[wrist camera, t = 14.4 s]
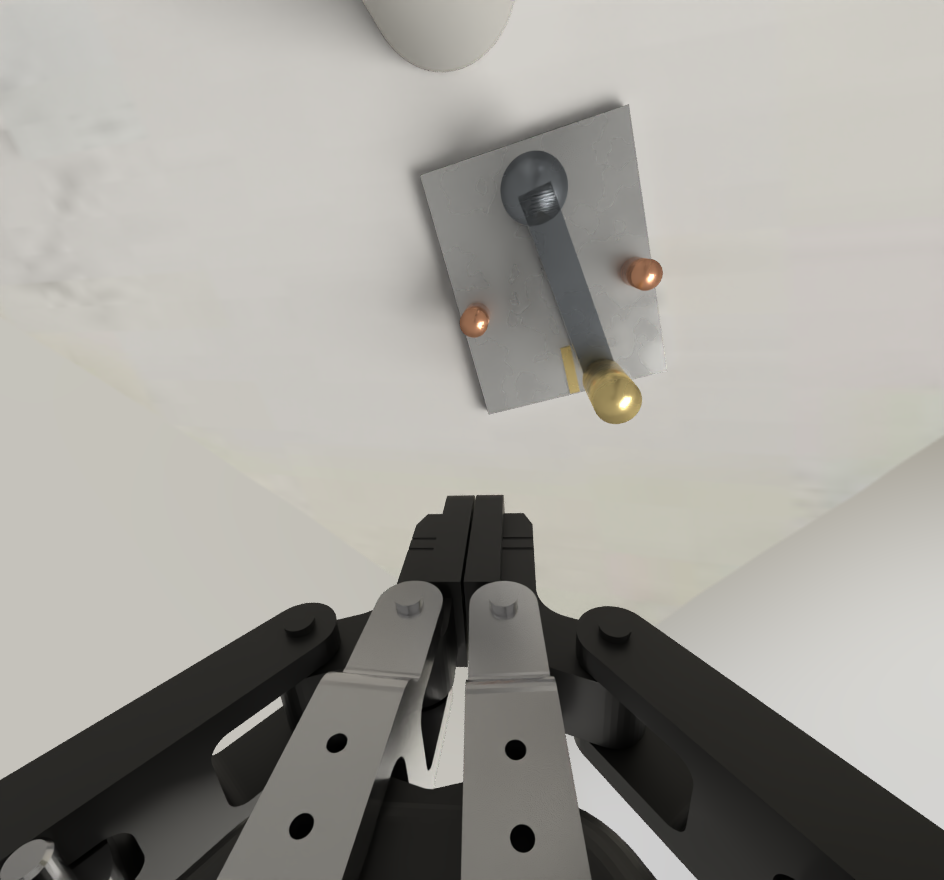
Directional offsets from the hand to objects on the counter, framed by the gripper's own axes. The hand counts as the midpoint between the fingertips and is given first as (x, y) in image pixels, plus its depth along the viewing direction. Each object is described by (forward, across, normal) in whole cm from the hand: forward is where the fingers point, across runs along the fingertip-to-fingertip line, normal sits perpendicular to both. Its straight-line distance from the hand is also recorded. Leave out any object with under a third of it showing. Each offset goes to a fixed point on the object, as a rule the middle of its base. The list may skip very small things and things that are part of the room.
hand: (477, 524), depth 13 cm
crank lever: (+22, -4, -4) cm, 23 cm away
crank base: (+24, -3, -4) cm, 25 cm away
